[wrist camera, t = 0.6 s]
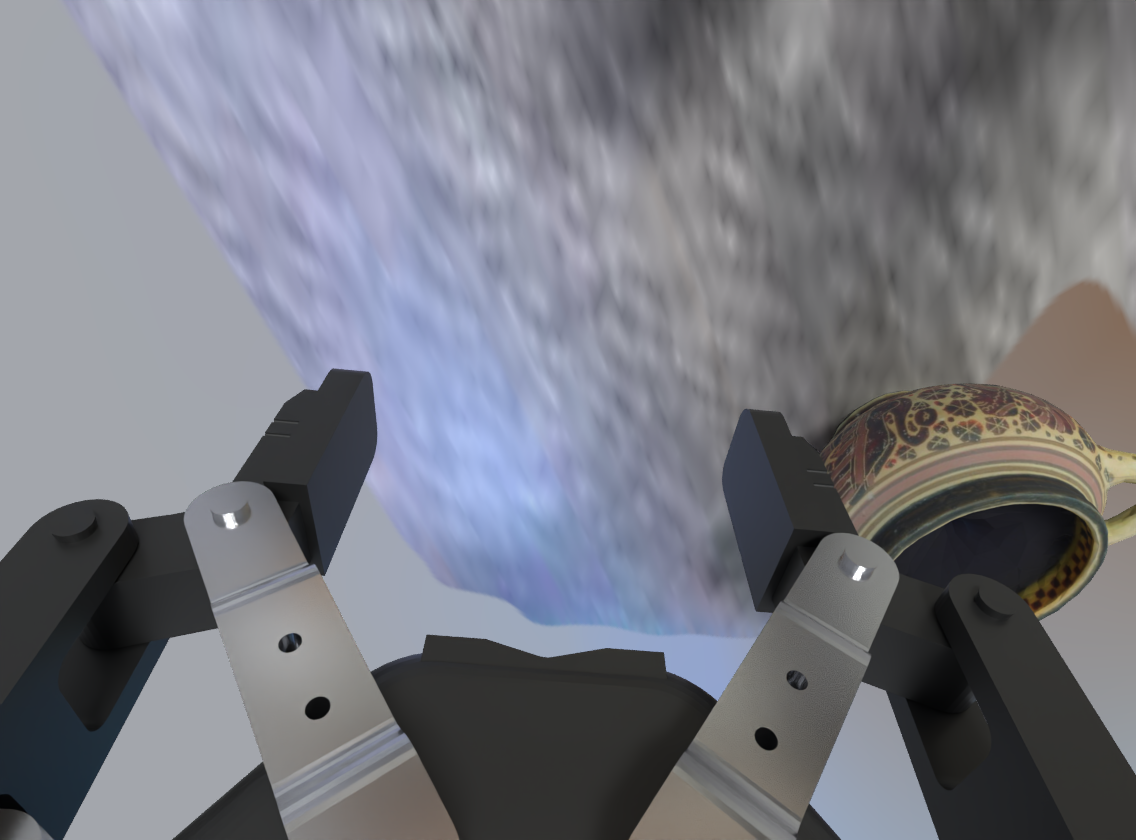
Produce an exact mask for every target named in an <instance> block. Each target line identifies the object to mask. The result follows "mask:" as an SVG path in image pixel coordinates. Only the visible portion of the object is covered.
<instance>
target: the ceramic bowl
mask: <svg viewBox="0 0 1136 840" xmlns="http://www.w3.org/2000/svg"><path fill="white" fill-rule="evenodd" d="M820 457H821V459H822V461H823V463H824V465H825V467H826V469H827V474H829V475H830V477H831V479H832V481H833V483H834V488H836V490H837V492H838V494H839V496H840V498H841V500H842V502H843V504H844V506H845V508H846V510H847V512H848V514H849V517H850V519H851V521H852V523H853V525H854V527H855V529H856V531H857V533H858V535H859V536H860V537H863V538H865V539H867V540H870V541H871V542H873V543H875V544H876V545H878V546H879V547H881V548H882V549H883V550H884V551H885V552H886V553H887V554H888V555H889V556H890V557H891V558H892V560H893V561H894V562H895V564H896V566H897V568H898V572H899V573H900V574H903V575H905V576H908V577H911V578H914V579H917V580H920V581H923V582H926V583H929V584H932V585H935V586H938V587H941V588H944V589H945V588H946V587H947V585H948V584H949V583H950V581H951V580H952V579H953V578H954V577H956V576H958V575H961V574H976V575H981V576H985V577H988V578H991V579H993V580H995V581H997V582H999V583H1001V584H1003V585H1005V586H1006V587H1008V588H1010V589H1011V590H1012V591H1014V592H1015V593H1016V594H1018V595H1019V596H1020V597H1021V598H1022V599H1023V600H1024V601H1025V602H1026V603H1027V604H1028V605H1029V607H1030V608H1031V609H1032V611H1033V612H1034V614H1035V615H1036V617H1037V619H1038V620H1039V621H1040V620H1041V619H1043V618H1045V617H1047V616H1049V615H1051V614H1053V613H1055V612H1056V611H1058V610H1059V609H1060V608H1061V607H1063V606H1064V605H1065V604H1066V603H1067V602H1068V601H1070V600H1071V599H1072V598H1074V597H1075V596H1077V595H1078V594H1079V593H1080V592H1081V591H1082V589H1083V588H1084V587H1085V586H1086V585H1087V584H1088V583H1089V582H1090V581H1091V580H1092V578H1093V577H1094V575H1095V574H1096V572H1097V571H1098V569H1099V567H1100V566H1101V565H1102V563H1103V561H1104V558H1105V555H1106V553H1107V547H1108V545H1112V544H1114V543H1117V542H1120V541H1122V540H1125V539H1127V538H1130V537H1132V536H1134V535H1136V505H1134V506H1132V507H1130V508H1129V509H1127V510H1125V511H1123V512H1122V513H1120V514H1118V515H1117V516H1115V517H1112V518H1110V519H1108V520H1104V519H1103V517H1102V515H1103V512H1104V509H1105V505H1106V501H1107V491H1108V490H1109V489H1110V487H1111V486H1114V485H1117V484H1119V483H1122V482H1126V483H1134V484H1136V454H1132V453H1127V452H1121V451H1115V450H1110V449H1107V448H1104V447H1102V446H1099V445H1097V444H1095V442H1094V441H1093V440H1092V439H1091V437H1090V436H1089V435H1088V434H1087V432H1086V431H1085V430H1084V429H1083V428H1082V427H1081V426H1080V425H1079V423H1078V422H1077V421H1076V420H1075V419H1073V418H1072V417H1071V416H1069V415H1068V414H1066V413H1065V412H1064V411H1062V410H1061V409H1059V408H1058V407H1056V406H1054V405H1052V404H1051V403H1049V402H1047V401H1046V400H1044V399H1041V398H1039V397H1036V396H1034V395H1032V394H1028V393H1025V392H1022V391H1018V390H1014V389H1011V388H1006V387H1002V386H997V385H987V384H948V385H938V386H932V387H926V388H921V389H917V390H913V391H900V392H896V393H889V394H885V395H883V396H880V397H878V398H875V399H874V400H872V401H870V402H868V403H867V404H865V405H863V406H862V407H860V408H859V409H857V410H855V411H854V412H853V413H852V414H851V415H850V416H849V417H848V418H847V419H846V420H845V421H844V422H843V423H842V424H840V425H839V427H838V429H837V431H836V433H835V435H834V436H833V438H832V440H831V441H830V442H829V443H828V444H827V446H826V447H825V448H824V450H823V451H822V452H821V453H820Z"/></svg>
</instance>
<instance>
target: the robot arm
mask: <svg viewBox="0 0 1136 840" xmlns="http://www.w3.org/2000/svg"><path fill="white" fill-rule="evenodd" d="M376 444H377V423H376V413H375V403H374V393H373V383H372V377H371V374H370V373H369V372H365V371H354V370H344V369H331V370H330V372H329V373H328V375H327V376H326V378H325V380H324V381H323V383H322V385H321V386H320V388H319V390H318V391H316V390H305V389H304V390H303V391H302V392H300V393H299V394H297V395H296V396H294V397H293V398H291V399H290V400H288V401H287V402H286V403H284V405H283V407H282V408H281V409H280V411H279V412H278V414H277V416H276V417H275V418H274V422H272V423H271V424H270V426H269V427H268V429H267V431H266V432H265V436H263V437H262V438H261V440H260V441H259V443H258V444H257V446H256V447H255V449H254V450H253V452H252V453H251V455H250V456H249V458H248V459H247V461H246V462H245V464H244V465H243V467H242V468H241V470H240V471H239V473H238V474H237V476H236V477H235V479H234V480H233V482H231V483H227V484H222V485H219V486H216V487H213V488H211V489H209V490H207V491H205V492H204V493H202V494H201V495H199V496H198V497H197V498H195V499H194V500H193V501H192V502H191V504H190V505H189V506H188V508H187V509H186V512H183V513H178V514H173V515H166V516H158V517H151V518H145V519H137V520H131V519H130V517H129V515H128V512H127V511H126V509H125V508H124V507H123V506H122V505H120V504H119V503H116V502H113V501H110V500H101V499H96V500H85V501H80V502H75V503H72V504H69V505H66V506H63V507H61V508H58V509H56V510H54V511H52V512H50V513H48V514H47V515H45V516H44V517H42V518H41V519H39V520H38V521H37V522H36V523H35V524H33V525H32V526H31V527H30V528H29V530H28V531H27V532H26V533H25V534H24V535H23V537H22V538H21V539H20V540H19V541H18V542H17V543H16V544H15V546H14V547H13V548H12V549H11V550H10V551H9V552H8V554H7V555H6V556H5V557H4V558H3V559H2V560H1V562H0V840H63V838H64V836H65V834H66V832H67V831H68V829H69V827H70V825H71V823H72V821H73V819H74V817H75V815H76V813H77V812H78V810H79V808H80V806H81V804H82V802H83V800H84V799H85V797H86V795H87V793H88V791H89V789H90V787H91V785H92V783H93V781H94V779H95V778H96V776H97V774H98V772H99V770H100V768H101V766H102V765H103V763H104V761H105V759H106V757H107V755H108V753H109V751H110V749H111V747H112V746H113V743H114V742H115V740H116V738H117V736H118V734H119V732H120V731H121V729H122V726H123V725H124V723H125V721H126V719H127V717H128V716H129V714H130V712H131V710H132V708H133V706H134V704H135V702H136V700H137V699H138V697H139V695H140V693H141V691H142V689H143V687H144V685H145V683H146V682H147V680H148V678H149V676H150V674H151V672H152V670H153V668H154V666H155V665H156V663H157V661H158V659H159V657H160V655H161V653H162V651H163V649H164V648H165V646H166V644H167V642H168V640H169V638H171V637H176V636H181V635H186V634H191V633H196V632H201V631H206V630H211V629H216V628H218V629H219V632H220V635H221V638H222V641H223V644H224V647H225V649H226V653H227V655H228V658H229V661H230V664H231V667H232V670H233V673H234V676H235V679H236V682H237V685H238V688H239V691H240V694H241V697H242V700H243V703H244V706H245V709H246V712H247V715H248V718H249V720H250V724H251V727H252V730H253V733H254V736H255V739H256V742H257V745H258V748H259V751H260V754H261V757H262V760H263V762H262V763H261V764H260V765H258V766H257V767H256V768H255V769H254V770H252V771H251V772H250V773H249V774H248V775H247V776H246V777H244V778H243V779H242V780H241V781H240V782H238V783H237V784H236V785H235V786H234V787H233V788H231V789H230V790H229V791H228V792H227V793H226V794H225V795H224V796H222V797H221V798H220V799H219V800H218V801H216V802H215V803H214V804H213V805H212V806H211V807H209V808H208V809H207V810H206V811H205V812H204V813H202V814H201V815H200V816H199V817H198V818H197V819H195V820H194V821H193V822H192V823H191V824H190V825H189V826H187V827H186V828H185V829H184V830H183V831H182V832H180V833H179V834H178V835H177V836H176V837H175V838H173V839H172V840H841V839H840V838H839V837H838V836H837V834H836V833H835V832H834V831H833V830H832V829H831V828H830V826H829V825H828V824H827V823H826V822H825V821H824V820H823V819H822V817H821V816H820V815H819V814H818V813H817V812H816V811H815V809H814V808H813V807H812V806H811V805H810V804H809V802H810V800H811V797H812V795H813V793H814V791H815V788H816V786H817V784H818V781H819V779H820V777H821V774H822V772H823V769H824V767H825V765H826V763H827V760H828V758H829V756H830V753H831V751H832V748H833V746H834V744H835V741H836V739H837V737H838V735H839V732H840V730H841V727H842V725H843V723H844V720H845V718H846V716H847V713H848V711H849V709H850V706H851V704H852V702H853V699H854V697H855V694H856V692H857V690H858V688H859V685H860V683H861V681H862V682H864V683H867V684H870V685H872V686H875V687H878V688H880V689H883V690H886V692H887V695H888V698H889V700H890V703H891V706H892V709H893V712H894V714H895V717H896V720H897V723H898V726H899V728H900V731H901V734H902V737H903V739H904V742H905V745H906V748H907V751H908V753H909V756H910V759H911V762H912V765H913V768H914V770H915V773H916V776H917V779H918V781H919V784H920V787H921V790H922V793H923V796H924V798H925V801H926V804H927V807H928V810H929V812H930V815H931V818H932V821H933V824H934V826H935V829H936V832H937V835H938V838H939V840H1136V775H1135V773H1134V771H1133V770H1132V768H1131V767H1130V765H1129V764H1128V762H1127V760H1126V759H1125V757H1124V756H1123V754H1122V753H1121V751H1120V749H1119V748H1118V746H1117V745H1116V743H1115V741H1114V740H1113V738H1112V736H1111V735H1110V733H1109V732H1108V730H1107V728H1106V727H1105V725H1104V724H1103V722H1102V721H1101V719H1100V717H1099V716H1098V714H1097V713H1096V711H1095V709H1094V708H1093V706H1092V705H1091V703H1090V702H1089V700H1088V698H1087V697H1086V695H1085V693H1084V692H1083V690H1082V689H1081V687H1080V686H1079V684H1078V682H1077V681H1076V679H1075V678H1074V676H1073V674H1072V673H1071V671H1070V670H1069V668H1068V666H1067V665H1066V663H1065V662H1064V660H1063V658H1062V657H1061V655H1060V654H1059V652H1058V651H1057V649H1056V647H1055V646H1054V644H1053V643H1052V641H1051V639H1050V638H1049V636H1048V635H1047V633H1046V631H1045V630H1044V628H1043V627H1042V625H1041V624H1040V622H1039V620H1038V619H1037V617H1036V615H1035V614H1034V612H1033V611H1032V609H1031V608H1030V607H1029V605H1028V604H1027V603H1026V602H1025V601H1024V600H1023V599H1022V598H1021V597H1020V596H1019V595H1018V594H1016V593H1015V592H1014V591H1012V590H1011V589H1010V588H1008V587H1006V586H1005V585H1003V584H1001V583H999V582H997V581H995V580H993V579H991V578H988V577H985V576H981V575H976V574H961V575H958V576H956V577H954V578H953V579H952V580H951V581H950V583H949V584H948V585H947V587H946V588H945V589H944V588H941V587H938V586H935V585H932V584H929V583H926V582H923V581H920V580H917V579H914V578H911V577H908V576H905V575H903V574H900V573H899V572H898V568H897V566H896V564H895V562H894V561H893V560H892V558H891V557H890V556H889V555H888V554H887V553H886V552H885V551H884V550H883V549H882V548H881V547H879V546H878V545H876V544H875V543H873V542H871V541H870V540H867V539H865V538H863V537H860V536H859V535H858V533H857V531H856V529H855V527H854V525H853V523H852V521H851V519H850V517H849V514H848V512H847V510H846V508H845V506H844V504H843V502H842V500H841V498H840V496H839V494H838V492H837V490H836V488H834V483H833V481H832V479H831V477H830V475H829V474H827V469H826V467H825V465H824V463H823V461H822V459H821V457H820V454H819V453H818V452H817V451H816V450H815V449H814V448H813V447H812V446H811V445H810V444H809V443H808V442H807V441H806V440H805V439H804V438H803V437H796V436H792V435H791V433H790V430H789V428H788V426H787V424H786V421H785V419H784V417H783V415H782V414H781V413H780V412H773V411H763V410H752V409H745V410H744V411H743V412H742V413H741V415H740V418H739V421H738V424H737V427H736V430H735V433H734V436H733V439H732V442H731V445H730V448H729V451H728V454H727V457H726V460H725V463H724V467H723V476H722V484H723V491H724V495H725V499H726V502H727V506H728V510H729V513H730V517H731V521H732V525H733V528H734V532H735V536H736V539H737V543H738V547H739V550H740V554H741V558H742V562H743V565H744V569H745V573H746V576H747V580H748V584H749V588H750V591H751V595H752V599H753V602H754V606H755V610H756V611H757V612H769V613H773V614H772V615H771V617H770V619H769V620H768V622H767V623H766V625H765V627H764V628H763V630H762V631H761V633H760V635H759V636H758V638H757V639H756V641H755V643H754V644H753V646H752V647H751V649H750V650H749V652H748V654H747V655H746V657H745V659H744V660H743V662H742V663H741V665H740V667H739V668H738V670H737V671H736V673H735V674H734V676H733V678H732V679H731V681H730V683H729V684H728V685H727V687H726V689H725V690H724V692H723V693H722V695H721V697H720V698H719V700H718V701H717V700H715V699H714V698H713V697H712V696H711V695H709V694H708V693H707V692H705V691H704V690H703V689H701V688H699V687H698V686H696V685H694V684H693V683H691V682H689V681H688V680H686V679H683V678H681V677H679V676H677V675H675V674H672V673H669V672H666V667H665V658H664V653H663V652H650V651H637V650H624V649H611V648H605V649H599V650H593V651H587V652H581V653H575V654H569V655H563V656H557V657H550V658H546V657H540V656H536V655H533V654H530V653H527V652H524V651H521V650H518V649H515V648H512V647H509V646H506V645H502V644H499V643H496V642H493V641H490V640H487V639H477V638H464V637H450V636H437V635H426V640H425V644H424V648H423V653H421V654H415V655H411V656H407V657H404V658H400V659H397V660H395V661H392V662H390V663H387V664H385V665H383V666H381V667H379V668H377V669H375V670H373V671H372V672H370V670H369V668H368V666H367V664H366V662H365V660H364V658H363V656H362V654H361V653H360V651H359V649H358V647H357V645H356V643H355V641H354V639H353V637H352V635H351V633H350V631H349V629H348V627H347V625H346V623H345V621H344V619H343V617H342V615H341V613H340V611H339V609H338V607H337V605H336V603H335V601H334V600H333V597H332V595H331V594H330V592H329V590H328V588H327V586H326V584H325V582H324V580H323V578H322V576H321V575H323V576H325V574H326V572H327V569H328V567H329V564H330V562H331V560H332V557H333V555H334V552H335V550H336V547H337V545H338V543H339V540H340V538H341V535H342V533H343V530H344V528H345V526H346V523H347V521H348V518H349V516H350V513H351V511H352V509H353V506H354V504H355V502H356V499H357V497H358V494H359V492H360V489H361V487H362V485H363V482H364V480H365V477H366V475H367V473H368V470H369V468H370V465H371V463H372V460H373V458H374V455H375V450H376ZM976 700H977V701H976ZM983 715H984V716H983ZM984 717H985V718H984ZM985 719H986V720H985Z"/></svg>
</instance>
